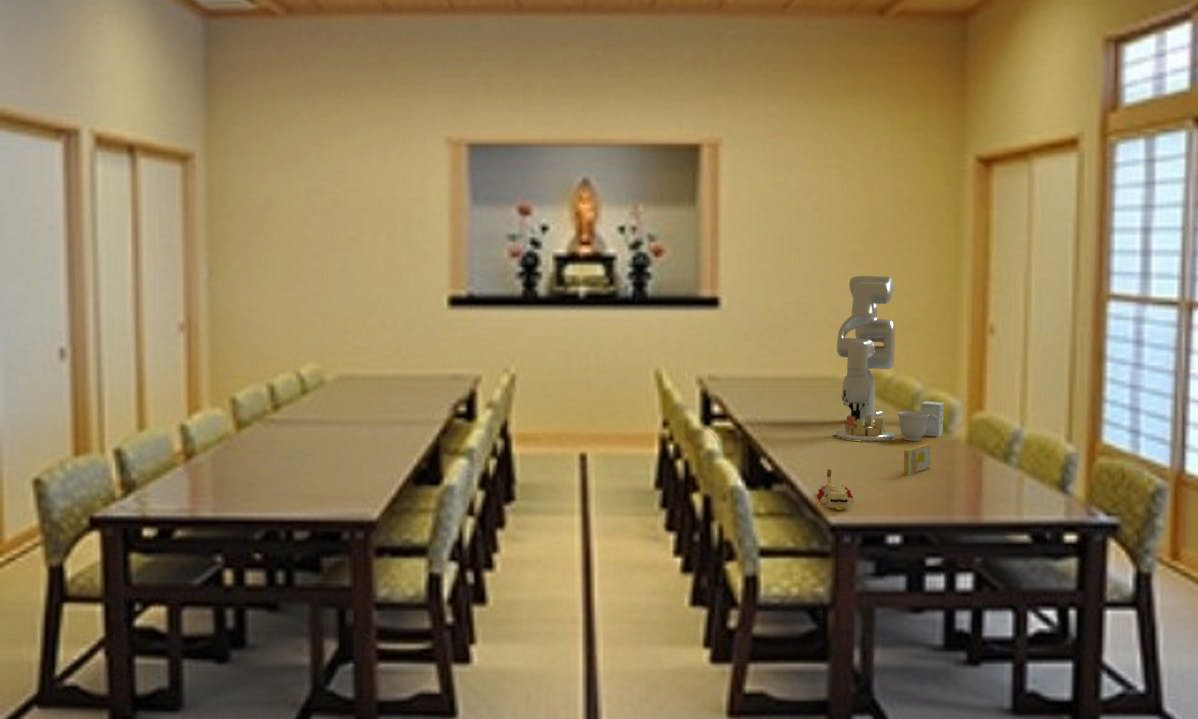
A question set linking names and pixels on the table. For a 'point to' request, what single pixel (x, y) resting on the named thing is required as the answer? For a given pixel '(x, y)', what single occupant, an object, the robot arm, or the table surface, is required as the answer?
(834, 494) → the cat figure
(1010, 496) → the table surface
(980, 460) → the table surface
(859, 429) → the wooden block ring
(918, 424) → the teacup
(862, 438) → the cap plate
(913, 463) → the candy box
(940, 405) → the supplement box
